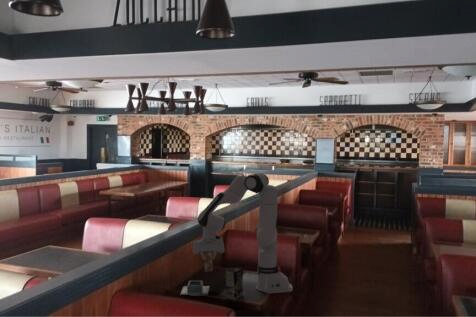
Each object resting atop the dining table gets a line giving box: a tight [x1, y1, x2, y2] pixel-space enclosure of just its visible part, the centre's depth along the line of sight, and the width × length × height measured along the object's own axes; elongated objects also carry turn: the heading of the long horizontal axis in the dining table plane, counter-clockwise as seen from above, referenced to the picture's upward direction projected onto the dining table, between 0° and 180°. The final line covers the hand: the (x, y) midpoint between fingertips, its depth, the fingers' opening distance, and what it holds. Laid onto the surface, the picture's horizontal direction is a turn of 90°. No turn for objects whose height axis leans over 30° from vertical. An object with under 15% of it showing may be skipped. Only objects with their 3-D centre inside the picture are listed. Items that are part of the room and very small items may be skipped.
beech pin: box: [203, 252, 214, 272], centre depth 247 cm, size 4×4×11 cm
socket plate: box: [180, 280, 210, 297], centre depth 238 cm, size 16×12×6 cm
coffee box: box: [225, 267, 244, 301], centre depth 229 cm, size 9×6×16 cm
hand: (208, 258), depth 247 cm, fingers closed on beech pin, 4 cm apart
